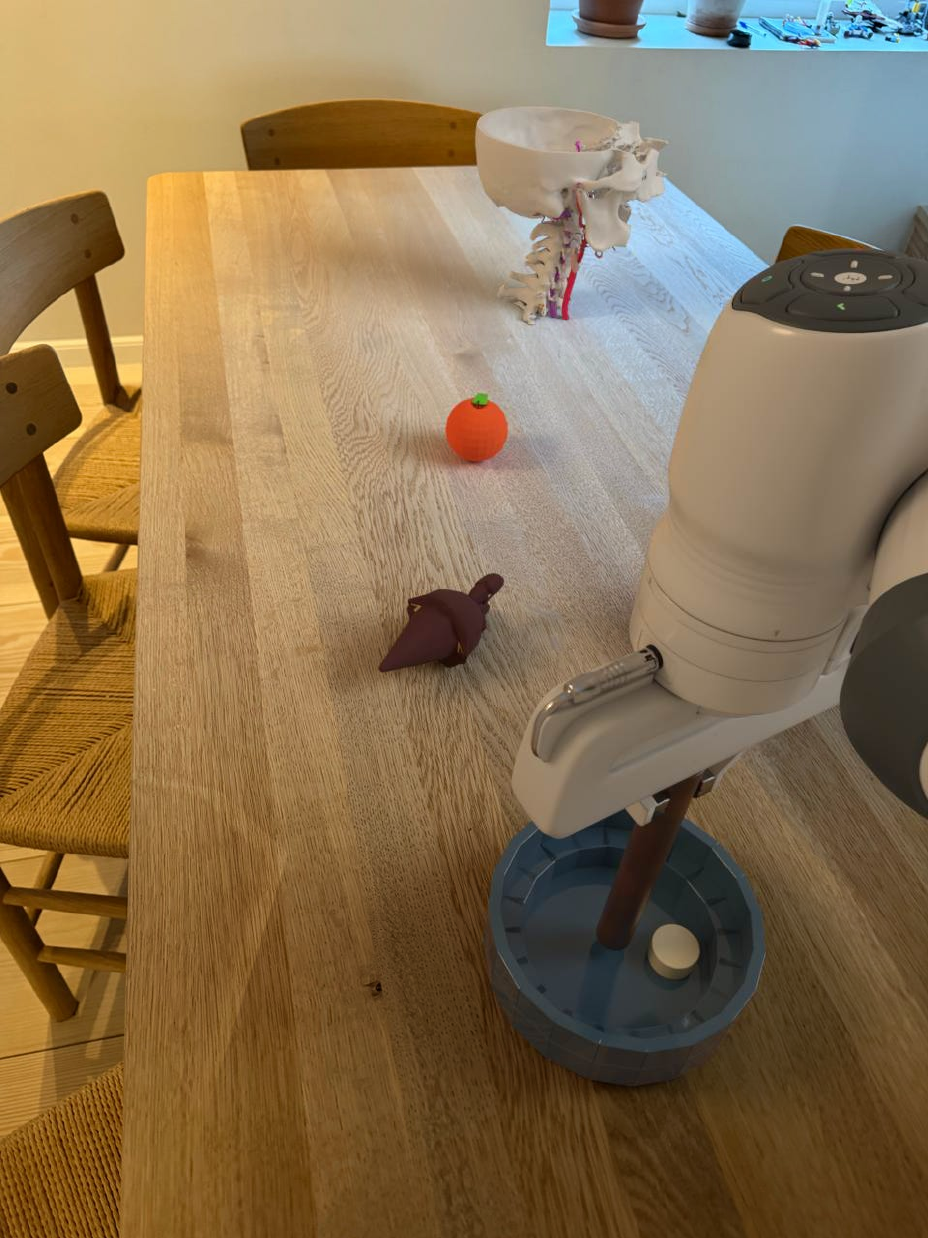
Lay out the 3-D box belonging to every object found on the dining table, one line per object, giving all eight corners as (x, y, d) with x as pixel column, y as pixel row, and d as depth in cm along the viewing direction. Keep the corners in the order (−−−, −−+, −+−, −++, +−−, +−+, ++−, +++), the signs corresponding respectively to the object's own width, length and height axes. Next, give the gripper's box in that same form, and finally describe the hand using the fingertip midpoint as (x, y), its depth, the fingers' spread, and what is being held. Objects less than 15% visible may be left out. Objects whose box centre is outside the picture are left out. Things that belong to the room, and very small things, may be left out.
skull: (462, 326, 130) (471, 147, 114) (470, 267, 143) (480, 100, 128) (645, 340, 130) (681, 163, 114) (636, 280, 143) (666, 114, 127)
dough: (696, 941, 66) (701, 930, 65) (693, 985, 63) (698, 974, 62) (649, 930, 66) (654, 918, 65) (645, 973, 64) (649, 962, 63)
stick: (630, 920, 65) (704, 743, 51) (631, 953, 63) (708, 780, 49) (595, 915, 65) (659, 737, 51) (595, 949, 64) (661, 774, 49)
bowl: (732, 863, 71) (753, 817, 67) (750, 1111, 59) (778, 1073, 54) (498, 828, 72) (505, 781, 68) (467, 1065, 60) (472, 1024, 56)
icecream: (422, 675, 75) (537, 595, 84) (358, 613, 77) (477, 541, 86) (400, 723, 80) (511, 642, 89) (341, 663, 82) (455, 590, 91)
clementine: (453, 429, 111) (456, 375, 107) (511, 439, 111) (517, 384, 106) (438, 468, 106) (440, 412, 101) (499, 478, 105) (504, 422, 100)
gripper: (584, 752, 37) (544, 928, 47) (939, 592, 45) (842, 771, 55) (499, 647, 41) (478, 830, 50) (840, 517, 49) (766, 696, 58)
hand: (669, 798), depth 53 cm, fingers closed on stick, 2 cm apart
